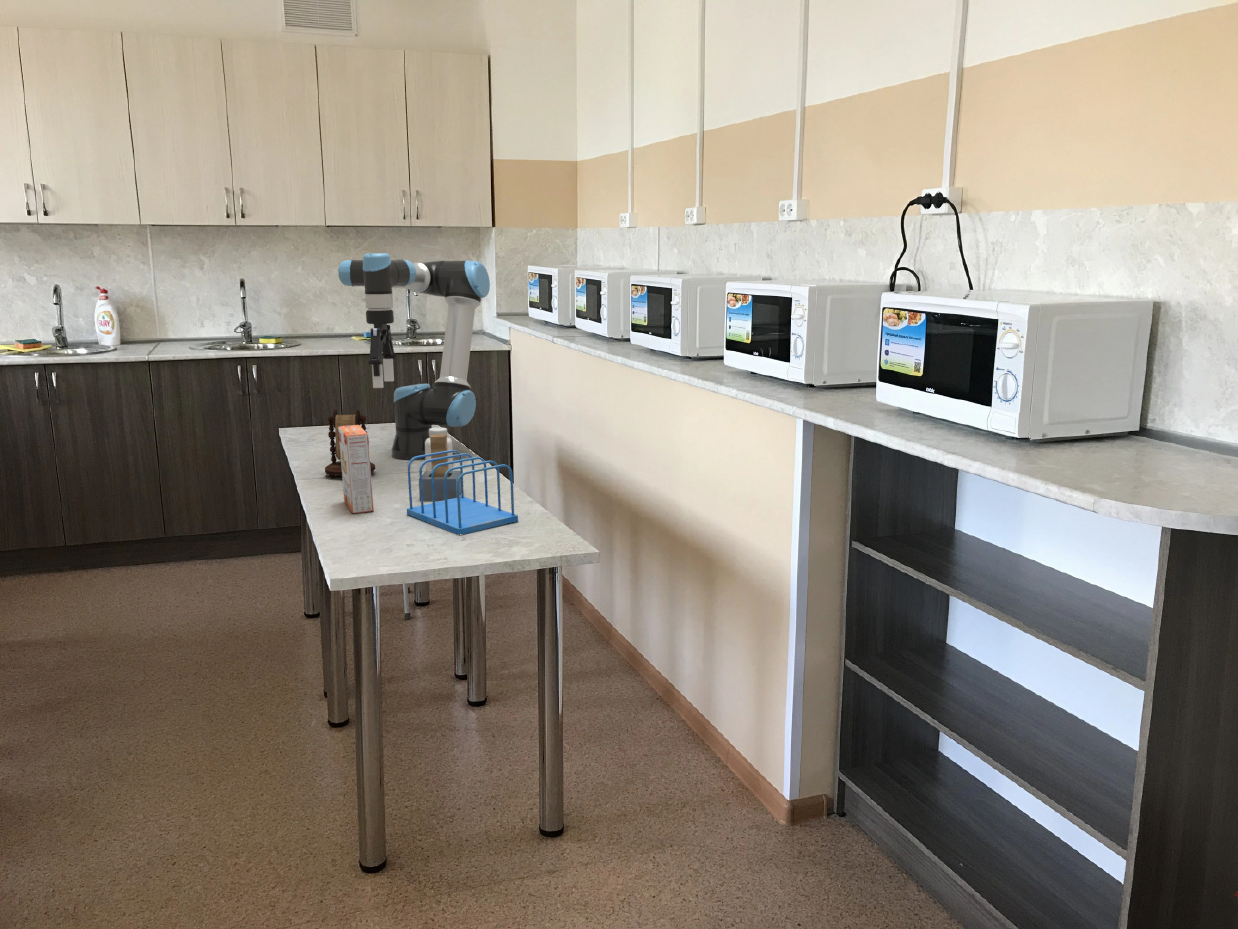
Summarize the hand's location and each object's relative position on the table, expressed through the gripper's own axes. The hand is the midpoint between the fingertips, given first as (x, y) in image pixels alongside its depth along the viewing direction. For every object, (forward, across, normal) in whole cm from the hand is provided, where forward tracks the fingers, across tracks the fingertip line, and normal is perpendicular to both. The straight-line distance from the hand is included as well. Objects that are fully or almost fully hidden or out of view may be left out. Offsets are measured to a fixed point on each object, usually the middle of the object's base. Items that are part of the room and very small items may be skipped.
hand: (383, 384), depth 282 cm
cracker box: (+29, +28, -2) cm, 40 cm away
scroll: (+29, -10, -14) cm, 34 cm away
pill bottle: (+29, -4, +14) cm, 32 cm away
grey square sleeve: (+29, +17, +18) cm, 38 cm away
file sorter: (+29, +40, +27) cm, 56 cm away
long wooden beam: (+28, +17, +18) cm, 37 cm away
